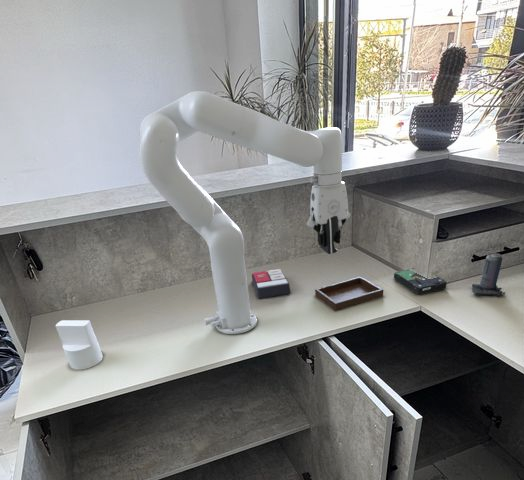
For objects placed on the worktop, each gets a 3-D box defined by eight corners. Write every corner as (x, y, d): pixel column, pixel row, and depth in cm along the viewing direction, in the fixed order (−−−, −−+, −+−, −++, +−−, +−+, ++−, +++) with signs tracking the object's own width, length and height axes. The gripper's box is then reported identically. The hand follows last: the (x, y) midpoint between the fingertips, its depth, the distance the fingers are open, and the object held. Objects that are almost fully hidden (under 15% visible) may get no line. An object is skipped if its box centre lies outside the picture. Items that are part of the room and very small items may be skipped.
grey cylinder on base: (495, 286, 138) (502, 249, 132) (505, 296, 132) (514, 259, 125) (465, 288, 139) (471, 252, 132) (475, 298, 132) (482, 261, 126)
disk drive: (446, 289, 139) (419, 273, 151) (447, 281, 138) (420, 265, 150) (418, 296, 137) (392, 278, 149) (419, 288, 136) (393, 271, 148)
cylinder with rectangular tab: (108, 351, 126) (95, 315, 119) (93, 369, 118) (79, 331, 112) (80, 351, 127) (66, 315, 121) (63, 369, 120) (48, 331, 113)
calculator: (281, 267, 157) (289, 281, 144) (282, 278, 160) (290, 293, 147) (251, 272, 157) (256, 286, 144) (252, 283, 159) (258, 298, 146)
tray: (335, 311, 134) (335, 303, 132) (315, 296, 144) (315, 289, 142) (383, 296, 139) (383, 289, 137) (360, 283, 149) (360, 276, 147)
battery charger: (341, 252, 127) (339, 213, 121) (329, 255, 126) (327, 216, 120) (331, 245, 133) (329, 207, 126) (319, 248, 132) (317, 210, 126)
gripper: (307, 187, 113) (310, 254, 123) (361, 175, 118) (360, 241, 128) (294, 182, 119) (298, 247, 129) (346, 171, 124) (346, 234, 134)
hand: (329, 243), depth 128 cm, fingers closed on battery charger, 4 cm apart
